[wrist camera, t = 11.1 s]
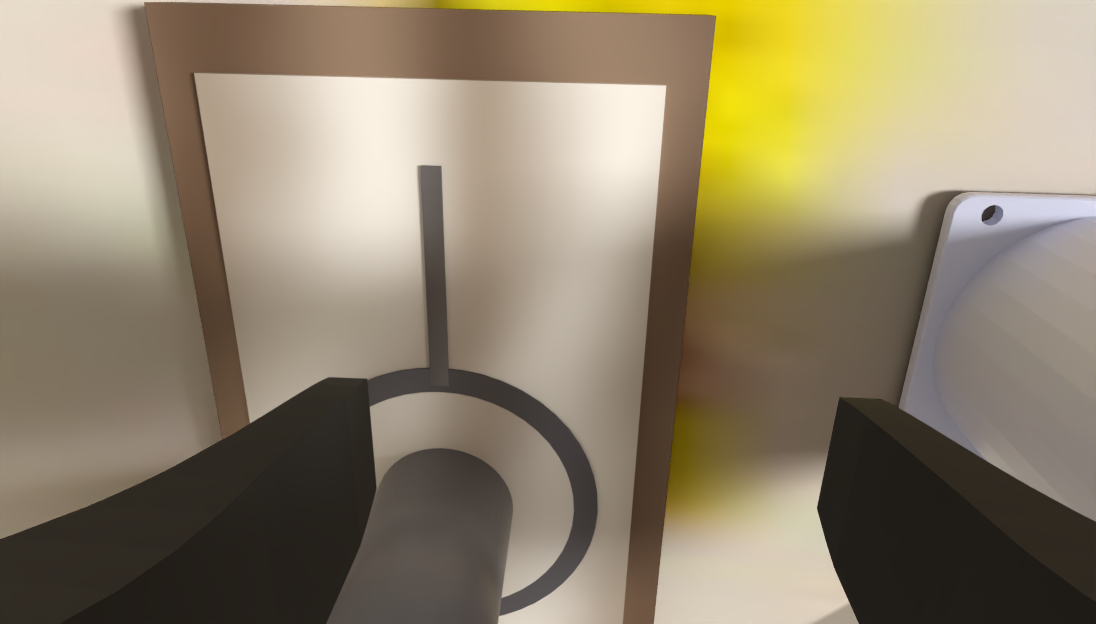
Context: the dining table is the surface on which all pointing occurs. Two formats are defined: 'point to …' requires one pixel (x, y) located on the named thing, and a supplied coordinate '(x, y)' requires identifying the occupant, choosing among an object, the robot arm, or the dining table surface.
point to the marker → (431, 545)
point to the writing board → (457, 250)
